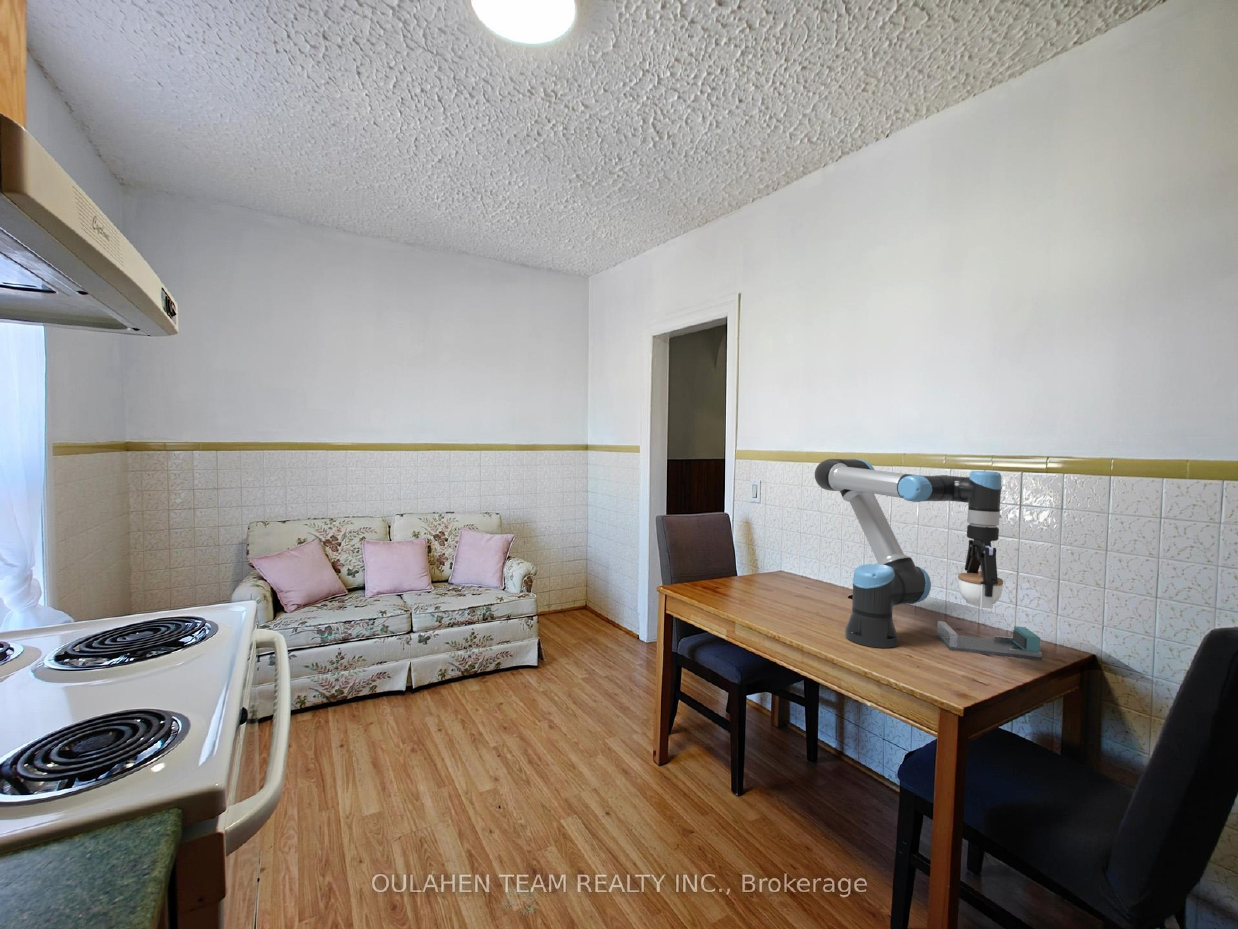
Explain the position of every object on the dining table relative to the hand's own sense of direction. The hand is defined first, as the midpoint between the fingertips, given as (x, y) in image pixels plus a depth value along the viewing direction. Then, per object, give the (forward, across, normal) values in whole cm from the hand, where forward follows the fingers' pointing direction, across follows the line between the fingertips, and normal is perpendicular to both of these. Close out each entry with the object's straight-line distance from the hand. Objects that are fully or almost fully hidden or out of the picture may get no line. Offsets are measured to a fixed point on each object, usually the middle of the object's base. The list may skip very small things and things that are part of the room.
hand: (978, 602), depth 155 cm
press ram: (+17, +16, -18) cm, 30 cm away
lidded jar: (+1, 0, 0) cm, 1 cm away
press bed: (+18, +16, -8) cm, 26 cm away
